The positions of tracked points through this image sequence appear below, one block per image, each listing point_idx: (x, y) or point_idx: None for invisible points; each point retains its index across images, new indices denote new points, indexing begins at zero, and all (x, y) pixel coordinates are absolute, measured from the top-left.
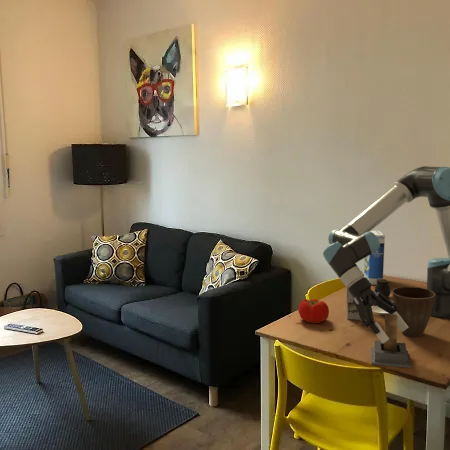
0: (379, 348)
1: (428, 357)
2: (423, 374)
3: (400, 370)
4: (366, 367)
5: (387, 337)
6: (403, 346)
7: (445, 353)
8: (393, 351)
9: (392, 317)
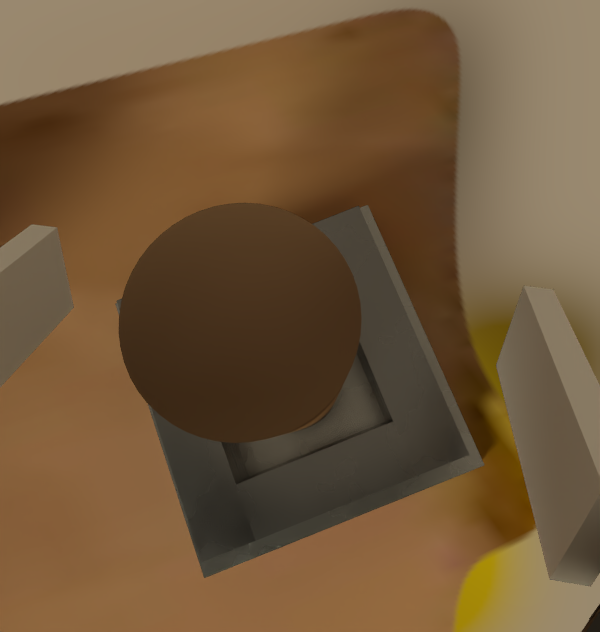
0: (361, 450)
1: (126, 170)
2: (412, 122)
3: (445, 255)
4: None
5: (545, 302)
6: None
7: (4, 103)
8: None
9: (317, 266)
